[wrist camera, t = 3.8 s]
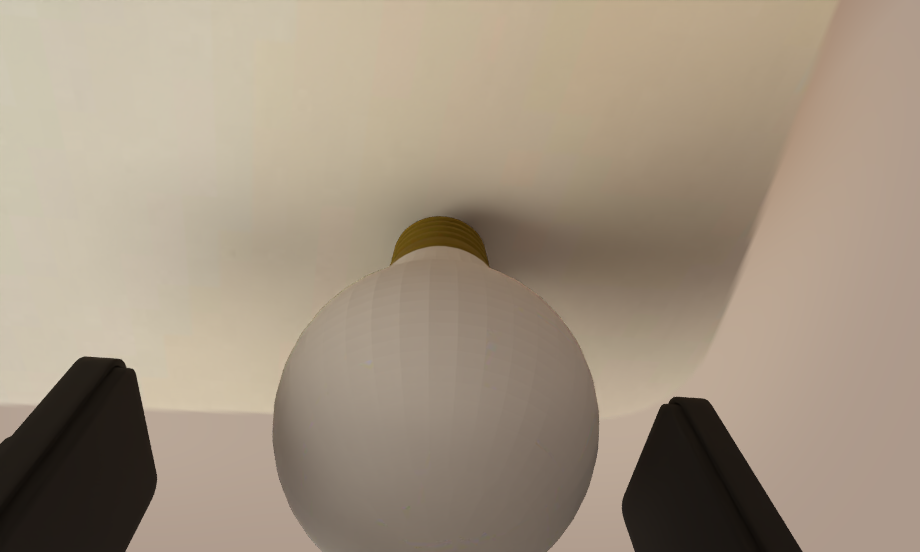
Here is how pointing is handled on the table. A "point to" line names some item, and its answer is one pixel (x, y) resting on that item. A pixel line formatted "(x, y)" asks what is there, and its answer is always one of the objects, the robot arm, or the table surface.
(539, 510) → the light bulb
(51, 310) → the table surface
